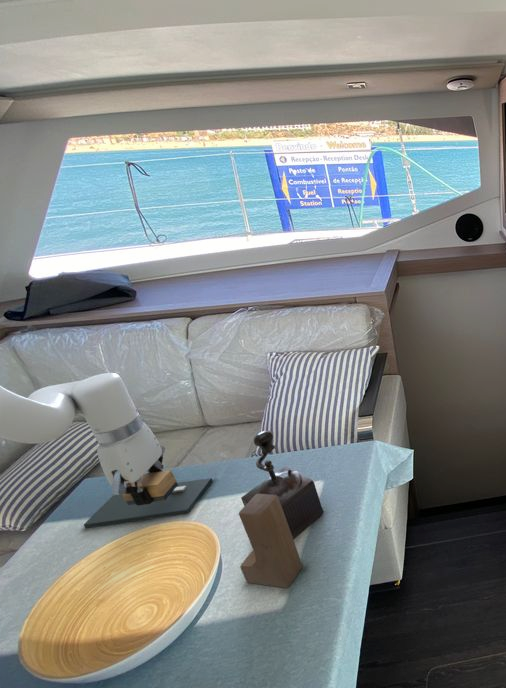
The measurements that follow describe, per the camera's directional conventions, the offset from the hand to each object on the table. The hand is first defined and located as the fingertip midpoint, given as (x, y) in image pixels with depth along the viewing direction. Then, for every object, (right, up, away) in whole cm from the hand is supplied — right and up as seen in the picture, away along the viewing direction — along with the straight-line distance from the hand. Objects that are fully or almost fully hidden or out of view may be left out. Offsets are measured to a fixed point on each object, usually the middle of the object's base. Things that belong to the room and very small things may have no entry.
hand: (153, 493), depth 95 cm
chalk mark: (+1, -2, +5) cm, 6 cm away
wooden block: (+37, -8, -16) cm, 41 cm away
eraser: (0, 0, 0) cm, 0 cm away
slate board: (-3, -4, +4) cm, 6 cm away
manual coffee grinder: (+32, -4, -3) cm, 32 cm away
